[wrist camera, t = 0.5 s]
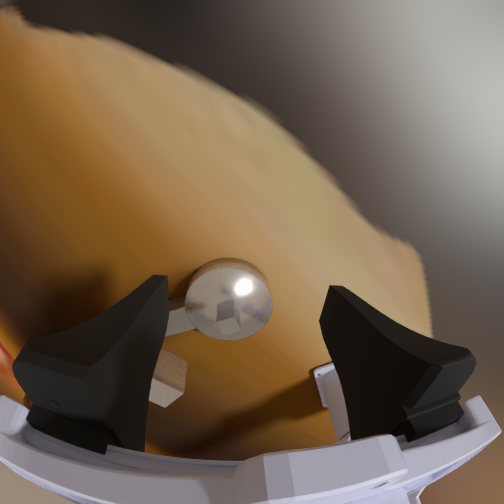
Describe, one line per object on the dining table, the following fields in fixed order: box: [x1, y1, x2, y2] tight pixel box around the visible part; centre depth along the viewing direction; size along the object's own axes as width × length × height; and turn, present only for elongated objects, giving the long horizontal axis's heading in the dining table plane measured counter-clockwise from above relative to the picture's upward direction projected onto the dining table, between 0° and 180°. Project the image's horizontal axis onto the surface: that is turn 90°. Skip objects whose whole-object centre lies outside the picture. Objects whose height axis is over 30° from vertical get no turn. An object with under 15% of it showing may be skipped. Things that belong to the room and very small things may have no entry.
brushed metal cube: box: [149, 348, 188, 407], centre depth 24 cm, size 4×4×4 cm
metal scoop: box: [165, 258, 273, 340], centre depth 22 cm, size 18×7×4 cm, turn 108°
